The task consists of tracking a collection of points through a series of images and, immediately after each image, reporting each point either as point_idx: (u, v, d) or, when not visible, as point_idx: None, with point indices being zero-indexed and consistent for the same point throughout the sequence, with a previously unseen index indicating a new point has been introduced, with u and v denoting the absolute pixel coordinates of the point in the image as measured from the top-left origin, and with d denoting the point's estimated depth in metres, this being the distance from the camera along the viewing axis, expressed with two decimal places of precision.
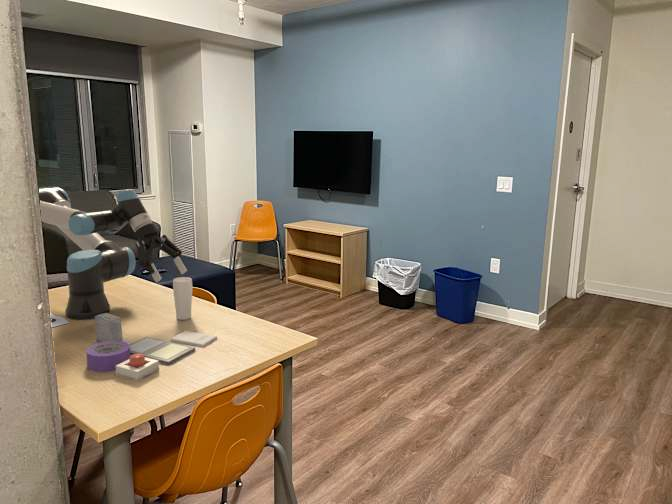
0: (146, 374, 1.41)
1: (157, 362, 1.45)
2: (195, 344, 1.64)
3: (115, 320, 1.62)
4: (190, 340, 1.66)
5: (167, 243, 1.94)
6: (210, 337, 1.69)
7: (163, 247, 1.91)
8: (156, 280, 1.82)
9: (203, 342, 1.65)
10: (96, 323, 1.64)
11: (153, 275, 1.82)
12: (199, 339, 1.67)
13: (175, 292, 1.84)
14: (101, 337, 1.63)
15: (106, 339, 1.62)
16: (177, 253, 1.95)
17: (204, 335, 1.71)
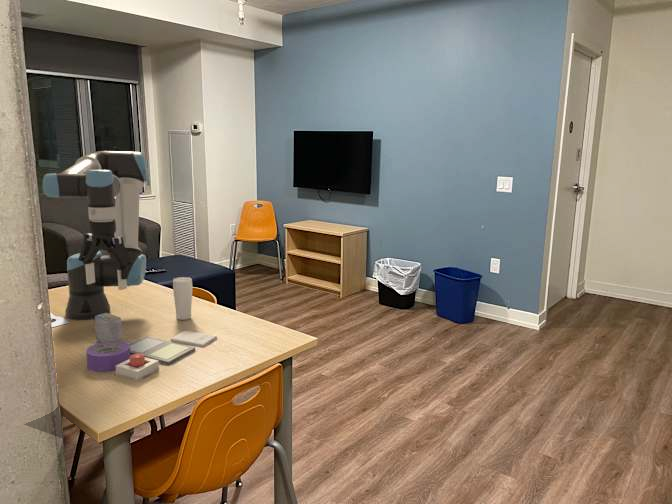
0: (146, 374, 1.41)
1: (157, 362, 1.45)
2: (195, 344, 1.64)
3: (115, 320, 1.62)
4: (190, 340, 1.66)
5: None
6: (210, 337, 1.69)
7: None
8: None
9: (203, 342, 1.65)
10: (96, 323, 1.64)
11: None
12: (199, 339, 1.67)
13: (175, 292, 1.84)
14: (101, 337, 1.63)
15: (106, 339, 1.62)
16: (119, 266, 1.56)
17: (204, 335, 1.71)
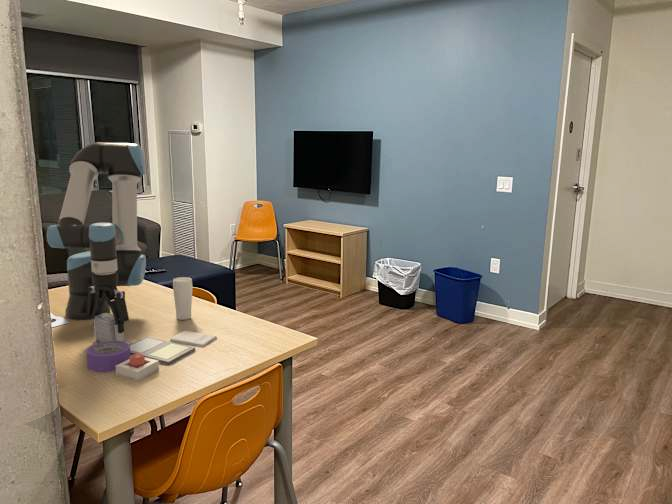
0: (146, 374, 1.41)
1: (157, 362, 1.45)
2: (195, 344, 1.64)
3: None
4: (190, 340, 1.66)
5: None
6: (210, 337, 1.69)
7: None
8: None
9: (203, 342, 1.65)
10: (96, 323, 1.64)
11: None
12: (199, 339, 1.67)
13: (175, 292, 1.84)
14: (101, 337, 1.63)
15: (106, 339, 1.62)
16: (116, 320, 1.60)
17: (203, 335, 1.71)
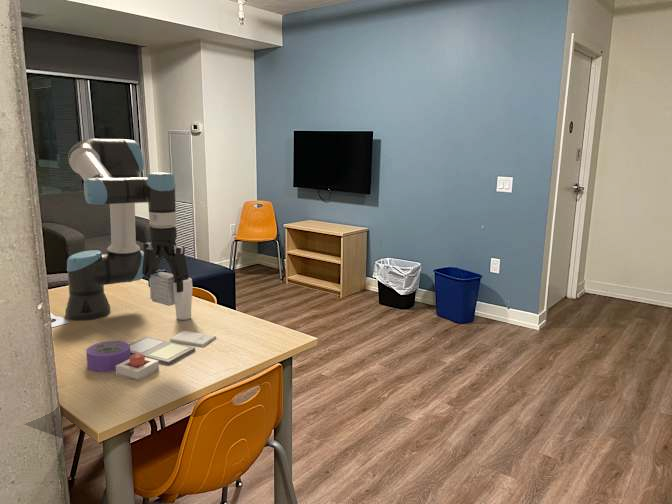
0: (146, 374, 1.41)
1: (157, 362, 1.45)
2: (194, 344, 1.64)
3: None
4: (189, 340, 1.66)
5: None
6: (209, 337, 1.69)
7: None
8: None
9: (203, 341, 1.65)
10: (152, 282, 1.52)
11: None
12: (198, 339, 1.67)
13: None
14: (157, 297, 1.51)
15: (163, 299, 1.50)
16: (176, 278, 1.48)
17: (203, 335, 1.71)
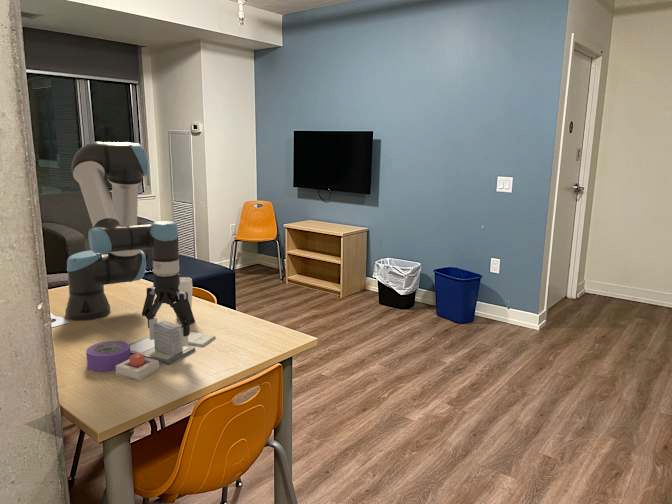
0: (146, 374, 1.41)
1: (157, 362, 1.45)
2: (194, 344, 1.64)
3: (177, 328, 1.53)
4: (189, 340, 1.66)
5: None
6: (209, 336, 1.69)
7: None
8: None
9: (202, 341, 1.65)
10: (155, 332, 1.55)
11: None
12: (198, 339, 1.67)
13: None
14: (160, 346, 1.55)
15: (166, 348, 1.54)
16: (182, 323, 1.51)
17: (202, 335, 1.71)
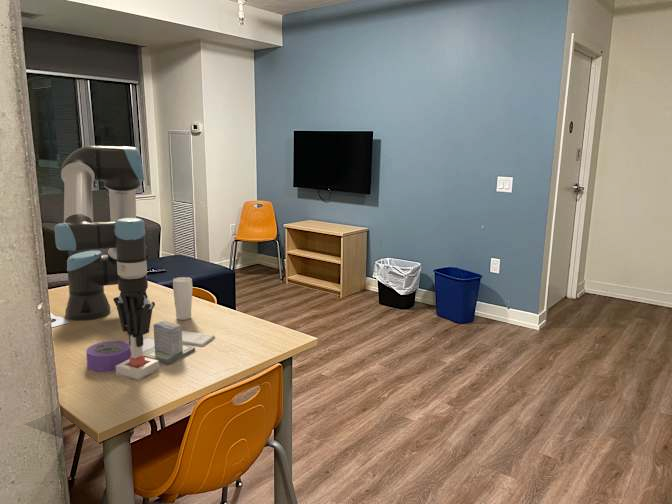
0: (146, 374, 1.41)
1: (157, 362, 1.45)
2: (194, 344, 1.64)
3: (177, 328, 1.53)
4: (188, 340, 1.66)
5: None
6: (208, 336, 1.69)
7: None
8: None
9: (202, 341, 1.65)
10: (155, 332, 1.55)
11: None
12: (197, 338, 1.67)
13: (175, 292, 1.84)
14: (160, 346, 1.55)
15: (166, 348, 1.54)
16: (135, 332, 1.39)
17: (202, 334, 1.71)
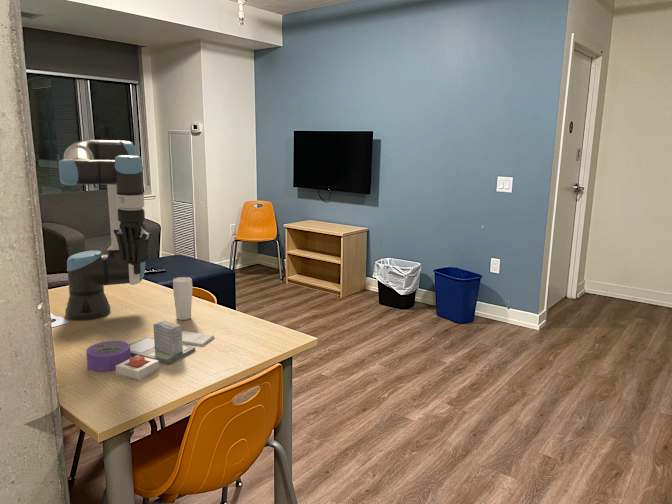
0: (146, 374, 1.41)
1: (157, 362, 1.45)
2: (194, 344, 1.64)
3: (177, 328, 1.53)
4: (188, 340, 1.66)
5: None
6: (208, 336, 1.70)
7: None
8: None
9: (202, 341, 1.65)
10: (155, 332, 1.55)
11: None
12: (197, 338, 1.68)
13: (175, 292, 1.84)
14: (160, 346, 1.55)
15: (166, 348, 1.54)
16: (133, 260, 1.53)
17: (201, 334, 1.71)
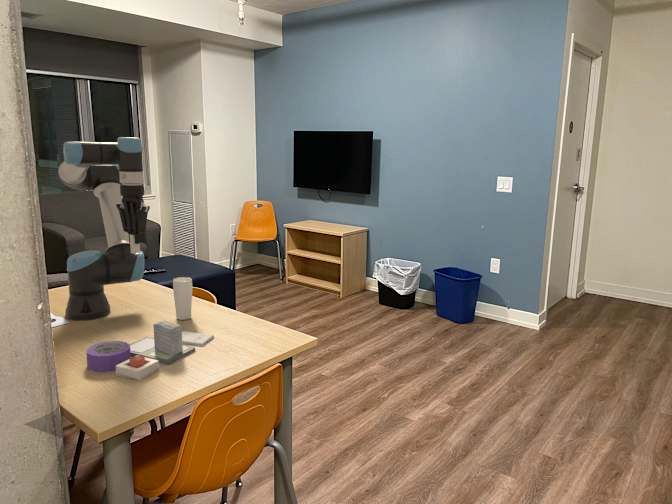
0: (146, 374, 1.41)
1: (157, 362, 1.45)
2: (193, 343, 1.64)
3: (177, 328, 1.53)
4: (188, 340, 1.66)
5: None
6: (207, 336, 1.70)
7: None
8: None
9: (202, 341, 1.65)
10: (155, 332, 1.55)
11: None
12: (197, 338, 1.68)
13: (175, 292, 1.84)
14: (160, 346, 1.55)
15: (166, 348, 1.54)
16: (134, 231, 1.72)
17: (201, 334, 1.71)
